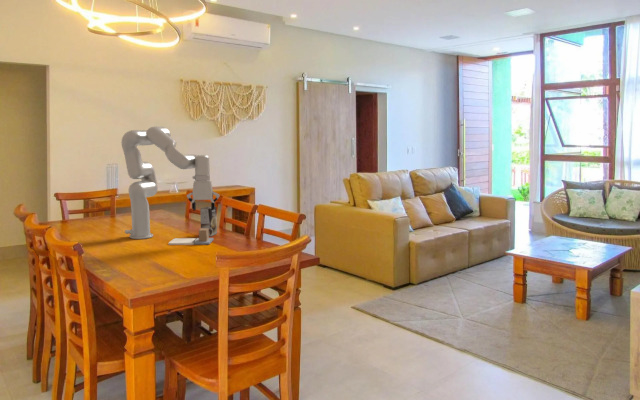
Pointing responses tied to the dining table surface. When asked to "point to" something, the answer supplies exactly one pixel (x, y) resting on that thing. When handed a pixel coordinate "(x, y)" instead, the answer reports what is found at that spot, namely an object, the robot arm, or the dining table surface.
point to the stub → (203, 237)
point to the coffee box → (209, 220)
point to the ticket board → (183, 241)
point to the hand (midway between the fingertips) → (203, 210)
